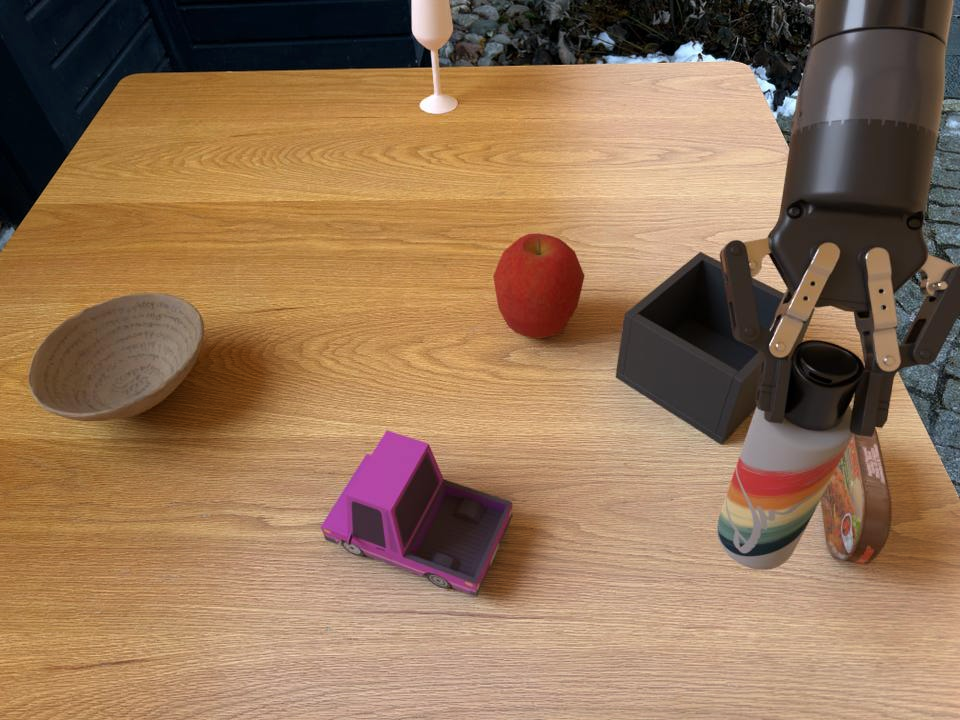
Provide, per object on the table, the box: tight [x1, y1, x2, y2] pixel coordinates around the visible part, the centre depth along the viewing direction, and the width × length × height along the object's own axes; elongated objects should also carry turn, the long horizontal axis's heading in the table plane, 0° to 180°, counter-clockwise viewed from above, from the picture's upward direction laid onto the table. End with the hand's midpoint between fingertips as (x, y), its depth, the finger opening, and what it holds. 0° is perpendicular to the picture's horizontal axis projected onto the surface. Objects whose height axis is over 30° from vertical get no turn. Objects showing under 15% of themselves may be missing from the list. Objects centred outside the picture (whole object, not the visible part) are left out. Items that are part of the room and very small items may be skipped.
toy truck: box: [320, 430, 513, 598], centre depth 69 cm, size 11×16×10 cm
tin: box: [820, 427, 893, 565], centre depth 69 cm, size 15×3×8 cm, turn 168°
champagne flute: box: [411, 0, 458, 115], centre depth 122 cm, size 7×7×24 cm
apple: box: [492, 232, 585, 339], centre depth 86 cm, size 10×10×14 cm
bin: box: [615, 251, 816, 445], centre depth 81 cm, size 14×14×10 cm
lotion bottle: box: [716, 339, 865, 571], centre depth 49 cm, size 6×6×20 cm
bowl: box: [27, 292, 205, 422], centre depth 83 cm, size 18×18×8 cm
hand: (817, 426), depth 44 cm, fingers closed on lotion bottle, 4 cm apart
